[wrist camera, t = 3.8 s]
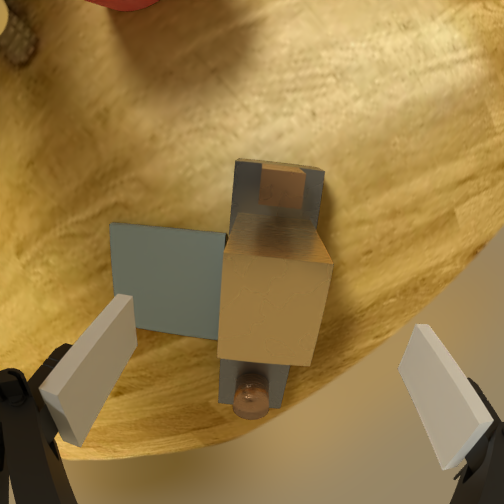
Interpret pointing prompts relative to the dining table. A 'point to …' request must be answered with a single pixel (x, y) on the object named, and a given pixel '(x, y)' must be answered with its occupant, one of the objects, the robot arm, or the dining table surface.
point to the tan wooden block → (272, 290)
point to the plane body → (244, 201)
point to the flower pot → (124, 4)
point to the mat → (169, 277)
